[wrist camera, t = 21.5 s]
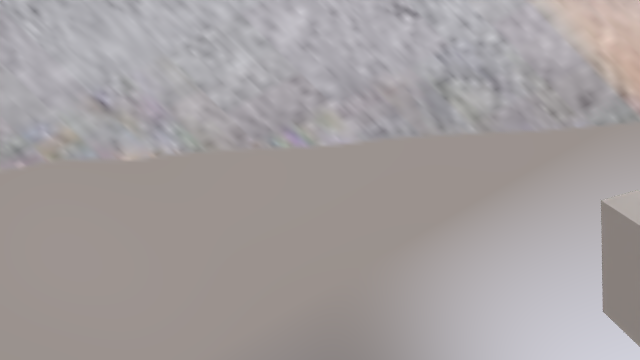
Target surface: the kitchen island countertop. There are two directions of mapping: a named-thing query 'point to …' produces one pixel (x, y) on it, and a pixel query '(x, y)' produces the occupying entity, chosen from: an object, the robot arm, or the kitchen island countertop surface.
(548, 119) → the kitchen island countertop surface
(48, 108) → the kitchen island countertop surface
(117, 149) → the kitchen island countertop surface
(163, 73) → the kitchen island countertop surface
